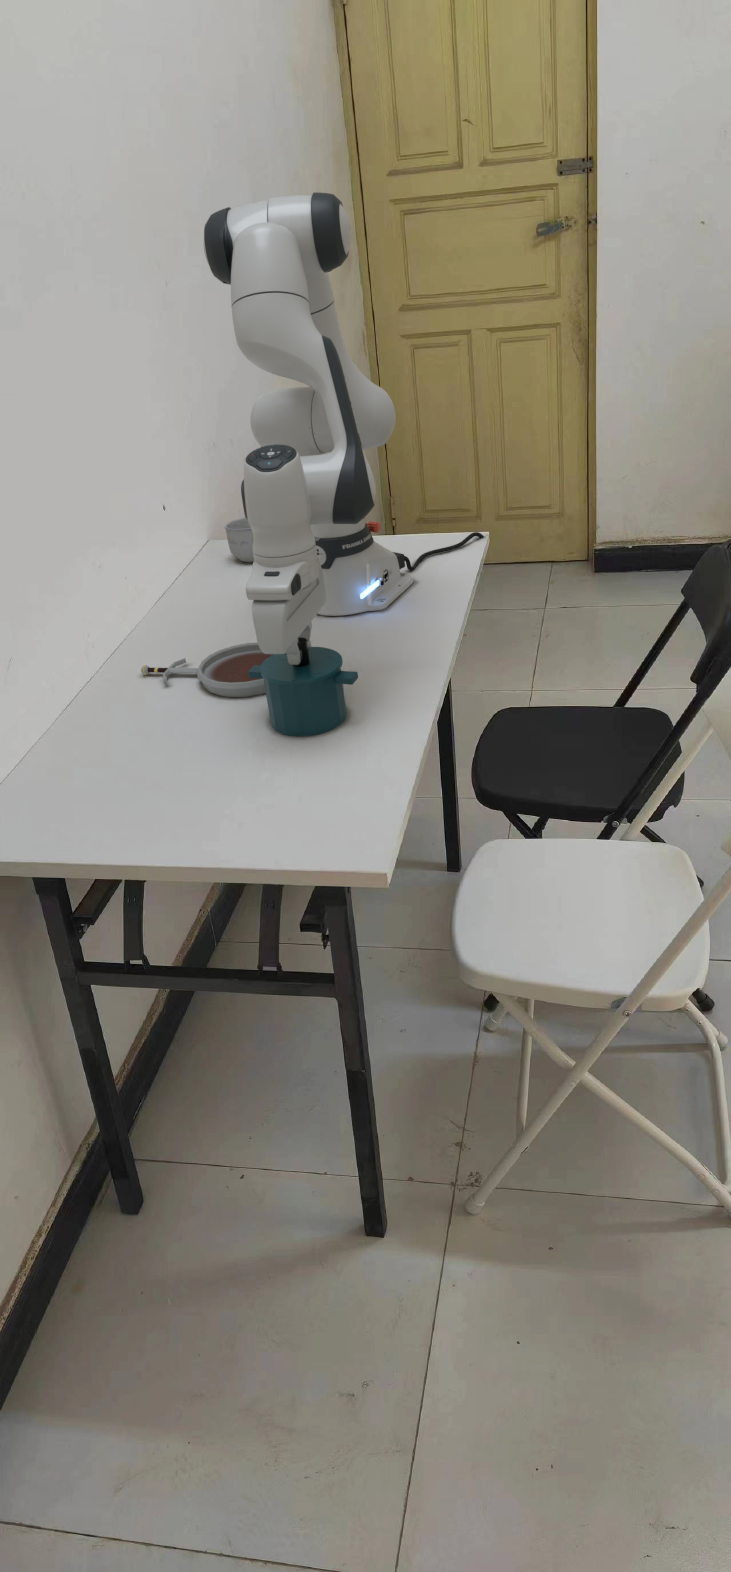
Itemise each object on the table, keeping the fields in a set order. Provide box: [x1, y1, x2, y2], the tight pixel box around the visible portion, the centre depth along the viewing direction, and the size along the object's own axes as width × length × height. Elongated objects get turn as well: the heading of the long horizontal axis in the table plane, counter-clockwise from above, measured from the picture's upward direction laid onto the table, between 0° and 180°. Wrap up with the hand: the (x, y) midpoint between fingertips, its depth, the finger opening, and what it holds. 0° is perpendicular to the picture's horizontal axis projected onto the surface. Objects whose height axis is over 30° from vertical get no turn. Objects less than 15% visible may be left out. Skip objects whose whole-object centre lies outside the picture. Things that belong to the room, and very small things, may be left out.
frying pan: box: [140, 641, 274, 698], centre depth 185 cm, size 17×3×28 cm
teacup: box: [224, 516, 254, 563], centre depth 235 cm, size 14×11×8 cm
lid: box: [260, 637, 344, 685], centre depth 163 cm, size 12×12×5 cm
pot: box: [248, 665, 359, 737], centre depth 166 cm, size 11×17×8 cm
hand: (300, 657), depth 163 cm, fingers closed on lid, 2 cm apart
